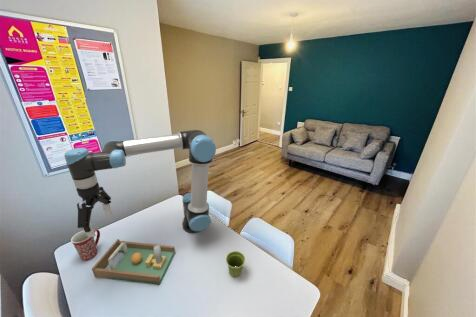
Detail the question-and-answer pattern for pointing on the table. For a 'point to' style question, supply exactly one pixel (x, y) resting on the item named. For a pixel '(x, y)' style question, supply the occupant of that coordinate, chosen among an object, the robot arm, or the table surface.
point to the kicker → (156, 258)
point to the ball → (136, 258)
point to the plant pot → (235, 263)
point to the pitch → (129, 269)
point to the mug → (85, 244)
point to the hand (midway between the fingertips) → (100, 225)
